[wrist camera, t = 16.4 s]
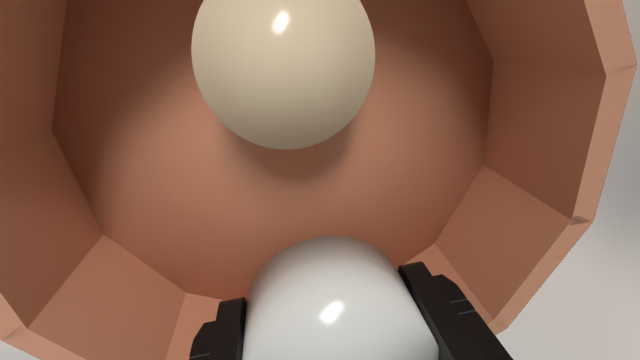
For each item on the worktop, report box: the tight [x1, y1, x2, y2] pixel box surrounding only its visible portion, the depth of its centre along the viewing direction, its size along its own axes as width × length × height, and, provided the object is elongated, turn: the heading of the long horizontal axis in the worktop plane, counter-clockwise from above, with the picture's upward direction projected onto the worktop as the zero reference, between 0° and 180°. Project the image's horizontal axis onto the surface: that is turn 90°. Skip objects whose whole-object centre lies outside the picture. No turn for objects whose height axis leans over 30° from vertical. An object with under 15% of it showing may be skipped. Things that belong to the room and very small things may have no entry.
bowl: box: [0, 0, 637, 360], centre depth 11 cm, size 18×18×6 cm
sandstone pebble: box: [191, 0, 375, 150], centre depth 10 cm, size 5×5×3 cm
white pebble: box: [242, 236, 439, 360], centre depth 9 cm, size 5×5×3 cm
